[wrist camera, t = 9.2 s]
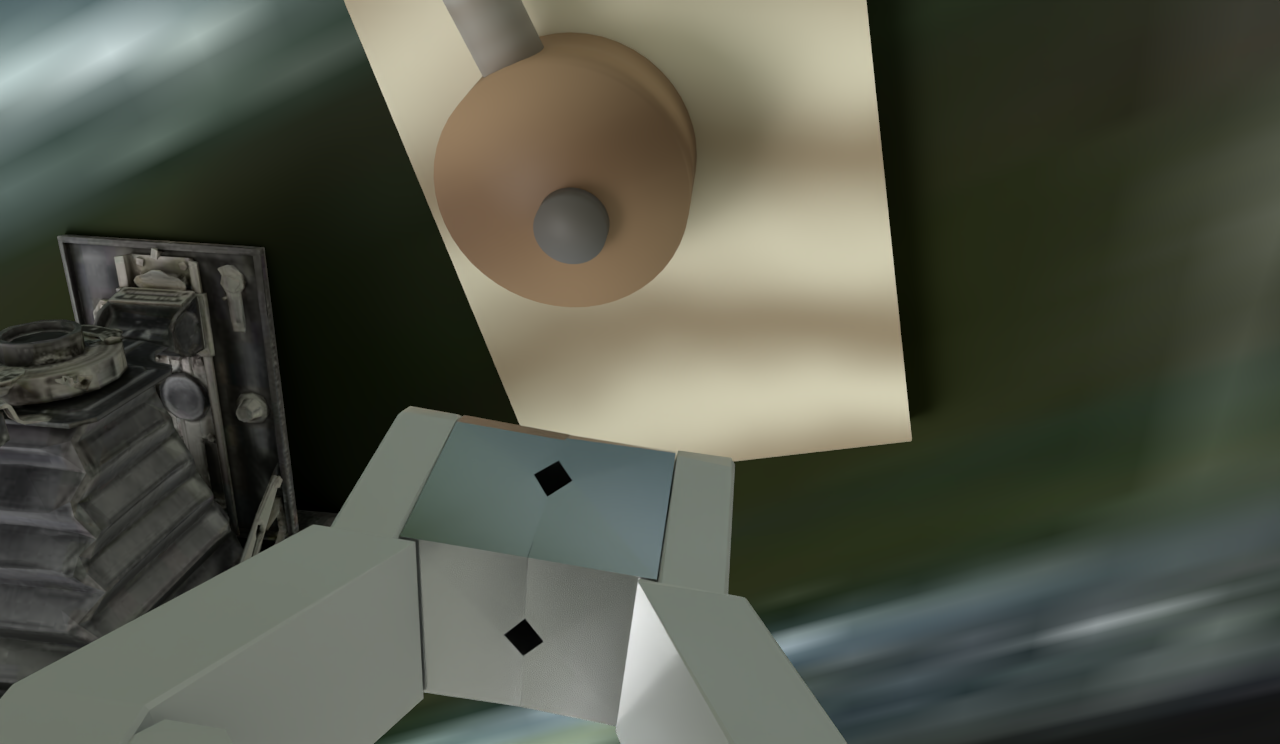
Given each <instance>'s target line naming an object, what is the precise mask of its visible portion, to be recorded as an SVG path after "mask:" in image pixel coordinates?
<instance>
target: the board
mask: <svg viewBox="0 0 1280 744" xmlns="http://www.w3.org/2000/svg"><path fill="white" fill-rule="evenodd" d="M344 2H345V4H346V7H347V9H348V12H349V14H350V16H351V19H352V21H353V24H354V26H355V29H356V31H357V33H358V36H359V38H360V41H361V43H362V45H363V48H364V50H365V53H366V55H367V57H368V60H369V62H370V65H371V67H372V70H373V72H374V74H375V77H376V79H377V82H378V84H379V86H380V89H381V91H382V94H383V96H384V99H385V101H386V103H387V106H388V108H389V111H390V113H391V115H392V118H393V120H394V123H395V125H396V127H397V130H398V132H399V135H400V137H401V140H402V142H403V144H404V147H405V149H406V152H407V154H408V156H409V159H410V161H411V164H412V166H413V168H414V171H415V173H416V176H417V178H418V181H419V183H420V185H421V188H422V190H423V193H424V195H425V197H426V200H427V202H428V205H429V207H430V210H431V212H432V214H433V217H434V219H435V222H436V224H437V226H438V229H439V231H440V234H441V236H442V238H443V241H444V243H445V246H446V248H447V251H448V253H449V255H450V258H451V260H452V263H453V265H454V267H455V270H456V272H457V275H458V277H459V280H460V282H461V284H462V287H463V289H464V292H465V294H466V296H467V299H468V301H469V304H470V306H471V308H472V311H473V313H474V316H475V318H476V321H477V323H478V325H479V328H480V330H481V333H482V335H483V337H484V340H485V342H486V345H487V347H488V350H489V352H490V354H491V357H492V359H493V362H494V364H495V366H496V369H497V371H498V374H499V376H500V378H501V381H502V383H503V386H504V388H505V391H506V393H507V395H508V398H509V400H510V403H511V405H512V407H513V410H514V412H515V415H516V417H517V419H518V422H519V424H520V425H521V426H526V427H532V428H537V429H543V430H548V431H553V432H559V433H564V434H569V435H573V436H579V437H586V438H592V439H598V440H605V441H611V442H617V443H624V444H630V445H637V446H643V447H649V448H656V449H662V450H668V451H675V452H676V454H675V458H676V455H677V452H678V451H686V452H693V453H700V454H708V455H715V456H722V457H729V458H732V460H733V461H741V460H750V459H759V458H768V457H776V456H785V455H794V454H802V453H811V452H820V451H829V450H837V449H846V448H855V447H864V446H872V445H881V444H890V443H899V442H907V441H912V436H911V426H910V416H909V407H908V397H907V388H906V378H905V368H904V359H903V349H902V339H901V330H900V320H899V310H898V301H897V291H896V281H895V272H894V262H893V252H892V243H891V233H890V223H889V214H888V204H887V195H886V185H885V175H884V166H883V156H882V146H881V137H880V127H879V117H878V108H877V98H876V88H875V79H874V69H873V59H872V50H871V40H870V30H869V21H868V11H867V2H866V0H522V2H523V5H524V7H525V9H526V11H527V13H528V15H529V17H530V19H531V21H532V23H533V25H534V27H535V29H536V31H537V33H538V36H539V37H540V36H545V35H550V34H554V33H569V32H573V33H587V34H592V35H597V36H602V37H605V38H608V39H611V40H614V41H617V42H619V43H621V44H623V45H625V46H627V47H629V48H631V49H633V50H635V51H637V52H638V53H639V54H641V55H642V56H644V57H645V58H647V59H648V60H649V61H651V62H652V63H653V64H654V65H655V66H656V67H657V68H658V69H660V70H661V71H662V73H663V74H664V75H665V76H666V77H667V78H668V79H669V81H670V82H671V83H672V84H673V86H674V87H675V89H676V90H677V92H678V93H679V95H680V96H681V98H682V100H683V102H684V104H685V106H686V108H687V110H688V113H689V116H690V119H691V122H692V124H693V128H694V134H695V139H696V149H697V162H696V173H695V179H694V185H693V191H692V197H691V204H690V210H689V216H688V220H687V225H686V229H685V232H684V235H683V237H682V240H681V243H680V245H679V247H678V249H677V250H676V252H675V254H674V256H673V257H672V259H671V260H670V261H669V263H668V264H667V265H666V267H665V268H664V269H663V270H662V271H661V272H660V273H659V274H658V275H657V276H656V277H655V278H654V279H653V280H652V281H651V282H649V283H648V284H647V285H645V286H644V287H643V288H641V289H639V290H638V291H636V292H634V293H632V294H631V295H629V296H626V297H624V298H621V299H619V300H616V301H613V302H610V303H606V304H602V305H596V306H589V307H561V306H553V305H548V304H543V303H539V302H536V301H532V300H529V299H526V298H524V297H521V296H519V295H517V294H515V293H512V292H510V291H508V290H507V289H505V288H503V287H501V286H500V285H498V284H496V283H495V282H494V281H492V280H491V279H490V278H488V277H487V276H485V275H484V274H483V273H482V272H481V271H480V270H479V269H477V268H476V267H475V266H474V265H473V264H472V263H471V262H470V261H469V260H468V258H467V257H466V256H465V255H464V254H463V253H462V251H461V250H460V249H459V247H458V246H457V244H456V243H455V241H454V240H453V239H452V237H451V235H450V233H449V231H448V229H447V227H446V225H445V223H444V221H443V218H442V216H441V213H440V210H439V207H438V203H437V199H436V195H435V187H434V159H435V154H436V148H437V144H438V141H439V138H440V135H441V132H442V130H443V128H444V126H445V124H446V122H447V120H448V118H449V117H450V115H451V114H452V112H453V111H454V110H455V108H456V107H457V105H458V104H459V103H460V102H461V101H462V99H463V98H464V97H465V96H466V95H467V94H468V92H469V91H470V90H471V89H472V88H473V87H474V85H475V84H476V83H477V82H478V81H479V79H480V78H481V77H482V74H481V72H480V70H479V68H478V66H477V65H476V63H475V61H474V59H473V57H472V55H471V53H470V51H469V49H468V48H467V46H466V44H465V42H464V40H463V38H462V36H461V34H460V32H459V30H458V29H457V27H456V25H455V23H454V21H453V19H452V17H451V15H450V13H449V12H448V10H447V8H446V6H445V4H444V2H443V0H344Z"/></svg>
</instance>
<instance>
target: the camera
mask: <svg viewBox="0 0 1280 744" xmlns="http://www.w3.org/2000/svg"><path fill="white" fill-rule="evenodd" d="M57 238H58V243H59V247H60V252H61V256H62V261H63V266H64V270H65V275H66V279H67V284H68V289H69V293H70V298H71V302H72V307H73V312H74V316H75V321H76V322H74V321H69V320H41V321H36V322H31V323H26V324H21V325H16V326H11V327H8V328H6V329H4V330H2V331H0V699H1V697H2V696H3V695H4V694H5V693H6V691H7V690H8V689H9V688H10V687H11V686H12V685H13V684H14V683H16V682H18V681H20V680H22V679H24V678H26V677H28V676H29V675H31V674H33V673H35V672H37V671H39V670H41V669H43V668H44V667H46V666H48V665H50V664H52V663H54V662H56V661H58V660H60V659H61V658H63V657H65V656H67V655H69V654H71V653H73V652H75V651H76V650H78V649H80V648H82V647H84V646H86V645H88V644H90V643H91V642H93V641H95V640H97V639H99V638H101V637H103V636H105V635H106V634H108V633H110V632H112V631H114V630H116V629H118V628H120V627H121V626H123V625H125V624H127V623H129V622H131V621H133V620H135V619H136V618H138V617H140V616H142V615H144V614H146V613H148V612H150V611H151V610H153V609H155V608H157V607H159V606H161V605H163V604H165V603H166V602H168V601H170V600H172V599H174V598H176V597H178V596H180V595H181V594H183V593H185V592H187V591H189V590H191V589H193V588H195V587H197V586H198V585H200V584H202V583H204V582H206V581H208V580H210V579H212V578H213V577H215V576H217V575H219V574H221V573H223V572H225V571H227V570H228V569H230V568H232V567H234V566H236V565H238V564H240V563H242V562H243V561H245V560H247V559H249V558H251V557H253V556H255V555H257V554H258V553H260V552H262V551H264V550H266V549H268V548H270V547H272V546H273V545H275V544H277V543H279V542H281V541H283V540H285V539H287V538H288V537H290V536H292V535H294V534H296V533H298V532H300V531H302V530H303V529H305V528H307V527H309V526H311V525H313V524H314V525H320V526H326V527H331V525H332V523H333V522H334V520H335V518H336V517H337V515H338V513H329V512H317V511H305V510H297V509H296V501H295V493H294V485H293V477H292V469H291V461H290V452H289V444H288V436H287V428H286V420H285V412H284V404H283V395H282V387H281V379H280V371H279V363H278V355H277V347H276V338H275V330H274V322H273V314H272V306H271V298H270V289H269V281H268V273H267V265H266V257H265V249H264V247H254V246H238V245H223V244H208V243H192V242H176V241H160V240H144V239H129V238H113V237H97V236H81V235H60V236H57ZM190 356H191V357H190Z"/></svg>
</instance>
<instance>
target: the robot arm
mask: <svg viewBox="0 0 1280 744" xmlns="http://www.w3.org/2000/svg"><path fill="white" fill-rule="evenodd" d="M675 454H676V452H675V451H668V450H662V449H656V448H649V447H643V446H637V445H630V444H624V443H617V442H611V441H605V440H598V439H592V438H586V437H579V436H573V435H569V434H564V433H559V432H553V431H548V430H543V429H537V428H532V427H526V426H521V425H516V424H510V423H505V422H499V421H494V420H489V419H483V418H478V417H472V416H467V415H464V416H460V415H458V414H453V413H447V412H441V411H436V410H430V409H424V408H419V407H413V406H410V407H408V408H406V409H405V410H403V411H402V412H401V413H399V414H398V415H397V417H396V419H395V420H394V422H393V424H392V425H391V427H390V429H389V430H388V432H387V434H386V435H385V437H384V439H383V440H382V442H381V444H380V445H379V447H378V449H377V450H376V452H375V453H374V455H373V457H372V458H371V460H370V462H369V463H368V465H367V467H366V468H365V470H364V472H363V473H362V475H361V477H360V478H359V480H358V482H357V483H356V485H355V487H354V488H353V490H352V492H351V493H350V495H349V497H348V498H347V500H346V502H345V503H344V505H343V507H342V508H341V510H340V512H339V513H338V515H337V517H336V518H335V520H334V522H333V523H332V525H331V527H326V526H320V525H314V524H313V525H311V526H309V527H307V528H305V529H303V530H302V531H300V532H298V533H296V534H294V535H292V536H290V537H288V538H287V539H285V540H283V541H281V542H279V543H277V544H275V545H273V546H272V547H270V548H268V549H266V550H264V551H262V552H260V553H258V554H257V555H255V556H253V557H251V558H249V559H247V560H245V561H243V562H242V563H240V564H238V565H236V566H234V567H232V568H230V569H228V570H227V571H225V572H223V573H221V574H219V575H217V576H215V577H213V578H212V579H210V580H208V581H206V582H204V583H202V584H200V585H198V586H197V587H195V588H193V589H191V590H189V591H187V592H185V593H183V594H181V595H180V596H178V597H176V598H174V599H172V600H170V601H168V602H166V603H165V604H163V605H161V606H159V607H157V608H155V609H153V610H151V611H150V612H148V613H146V614H144V615H142V616H140V617H138V618H136V619H135V620H133V621H131V622H129V623H127V624H125V625H123V626H121V627H120V628H118V629H116V630H114V631H112V632H110V633H108V634H106V635H105V636H103V637H101V638H99V639H97V640H95V641H93V642H91V643H90V644H88V645H86V646H84V647H82V648H80V649H78V650H76V651H75V652H73V653H71V654H69V655H67V656H65V657H63V658H61V659H60V660H58V661H56V662H54V663H52V664H50V665H48V666H46V667H44V668H43V669H41V670H39V671H37V672H35V673H33V674H31V675H29V676H28V677H26V678H24V679H22V680H20V681H18V682H16V683H14V684H13V685H12V686H11V687H10V688H9V689H8V690H7V691H6V693H5V694H4V695H3V696H2V697H1V699H0V744H374V743H375V742H376V741H377V740H378V739H379V738H380V737H381V736H382V735H384V734H385V733H386V732H387V731H388V730H389V729H390V728H391V727H392V726H393V725H395V724H396V723H397V722H398V721H399V720H400V719H401V718H402V717H403V716H404V715H406V714H407V713H408V712H409V711H410V710H411V709H412V708H413V707H414V706H416V705H417V704H418V703H419V702H420V701H421V700H422V699H423V692H426V693H433V694H439V695H446V696H453V697H459V698H466V699H473V700H480V701H486V702H493V703H500V704H507V705H513V706H520V707H525V708H530V709H535V710H539V711H544V712H549V713H554V714H559V715H564V716H569V717H574V718H578V719H583V720H588V721H593V722H598V723H603V724H608V725H613V726H616V733H617V736H618V738H619V741H620V743H621V744H847V742H846V741H845V739H844V738H843V737H842V735H841V734H840V732H839V731H838V729H837V728H836V726H835V725H834V724H833V722H832V721H831V719H830V718H829V716H828V715H827V714H826V712H825V711H824V709H823V708H822V706H821V705H820V704H819V702H818V701H817V699H816V698H815V696H814V695H813V694H812V692H811V691H810V689H809V688H808V686H807V685H806V684H805V682H804V681H803V679H802V678H801V676H800V675H799V674H798V672H797V671H796V669H795V668H794V666H793V665H792V663H791V662H790V661H789V659H788V658H787V656H786V655H785V653H784V652H783V651H782V649H781V648H780V646H779V645H778V643H777V642H776V641H775V639H774V638H773V636H772V635H771V633H770V632H769V631H768V629H767V628H766V626H765V625H764V623H763V622H762V621H761V619H760V618H759V616H758V615H757V613H756V612H755V611H754V609H753V608H752V606H751V605H750V603H749V602H748V601H747V599H746V598H744V597H739V596H734V595H728V584H729V565H730V546H731V527H732V508H733V490H734V471H735V465H734V462H733V460H732V458H729V457H722V456H715V455H708V454H700V453H693V452H686V451H678V452H677V455H676V458H675Z"/></svg>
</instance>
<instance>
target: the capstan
mask: <svg viewBox="0 0 1280 744" xmlns="http://www.w3.org/2000/svg"><path fill="white" fill-rule="evenodd" d="M443 2H444V4H445V6H446V8H447V10H448V12H449V13H450V15H451V17H452V19H453V21H454V23H455V25H456V27H457V29H458V30H459V32H460V34H461V36H462V38H463V40H464V42H465V44H466V46H467V48H468V49H469V51H470V53H471V55H472V57H473V59H474V61H475V63H476V65H477V66H478V68H479V70H480V72H481V74H482V77H481V78H480V79H479V81H478V82H477V83H476V84H475V85H474V87H473V88H472V89H471V90H470V91H469V92H468V94H467V95H466V96H465V97H464V98H463V99H462V101H461V102H460V103H459V104H458V105H457V107H456V108H455V110H454V111H453V112H452V114H451V115H450V117H449V118H448V120H447V122H446V124H445V126H444V128H443V130H442V132H441V135H440V138H439V141H438V144H437V148H436V154H435V159H434V187H435V195H436V199H437V203H438V207H439V210H440V213H441V216H442V218H443V221H444V223H445V225H446V227H447V229H448V231H449V233H450V235H451V237H452V239H453V240H454V241H455V243H456V244H457V246H458V247H459V249H460V250H461V251H462V253H463V254H464V255H465V256H466V257H467V258H468V260H469V261H470V262H471V263H472V264H473V265H474V266H475V267H476V268H477V269H479V270H480V271H481V272H482V273H483V274H484V275H485V276H487V277H488V278H490V279H491V280H492V281H494V282H495V283H496V284H498V285H500V286H501V287H503V288H505V289H507V290H508V291H510V292H512V293H515V294H517V295H519V296H521V297H524V298H526V299H529V300H532V301H536V302H539V303H543V304H548V305H553V306H561V307H589V306H596V305H602V304H606V303H610V302H613V301H616V300H619V299H621V298H624V297H626V296H629V295H631V294H632V293H634V292H636V291H638V290H639V289H641V288H643V287H644V286H645V285H647V284H648V283H649V282H651V281H652V280H653V279H654V278H655V277H656V276H657V275H658V274H659V273H660V272H661V271H662V270H663V269H664V268H665V267H666V265H667V264H668V263H669V261H670V260H671V259H672V257H673V256H674V254H675V252H676V250H677V249H678V247H679V245H680V243H681V240H682V237H683V235H684V232H685V229H686V225H687V220H688V216H689V210H690V204H691V197H692V191H693V185H694V179H695V173H696V162H697V149H696V139H695V134H694V128H693V124H692V122H691V119H690V116H689V113H688V110H687V108H686V106H685V104H684V102H683V100H682V98H681V96H680V95H679V93H678V92H677V90H676V89H675V87H674V86H673V84H672V83H671V82H670V81H669V79H668V78H667V77H666V76H665V75H664V74H663V73H662V71H661V70H660V69H658V68H657V67H656V66H655V65H654V64H653V63H652V62H651V61H649V60H648V59H647V58H645V57H644V56H642V55H641V54H639V53H638V52H637V51H635V50H633V49H631V48H629V47H627V46H625V45H623V44H621V43H619V42H617V41H614V40H611V39H608V38H605V37H602V36H597V35H592V34H587V33H573V32H569V33H554V34H550V35H545V36H540V37H539V36H538V33H537V31H536V29H535V27H534V25H533V23H532V21H531V19H530V17H529V15H528V13H527V11H526V9H525V7H524V5H523V2H522V0H443Z"/></svg>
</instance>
